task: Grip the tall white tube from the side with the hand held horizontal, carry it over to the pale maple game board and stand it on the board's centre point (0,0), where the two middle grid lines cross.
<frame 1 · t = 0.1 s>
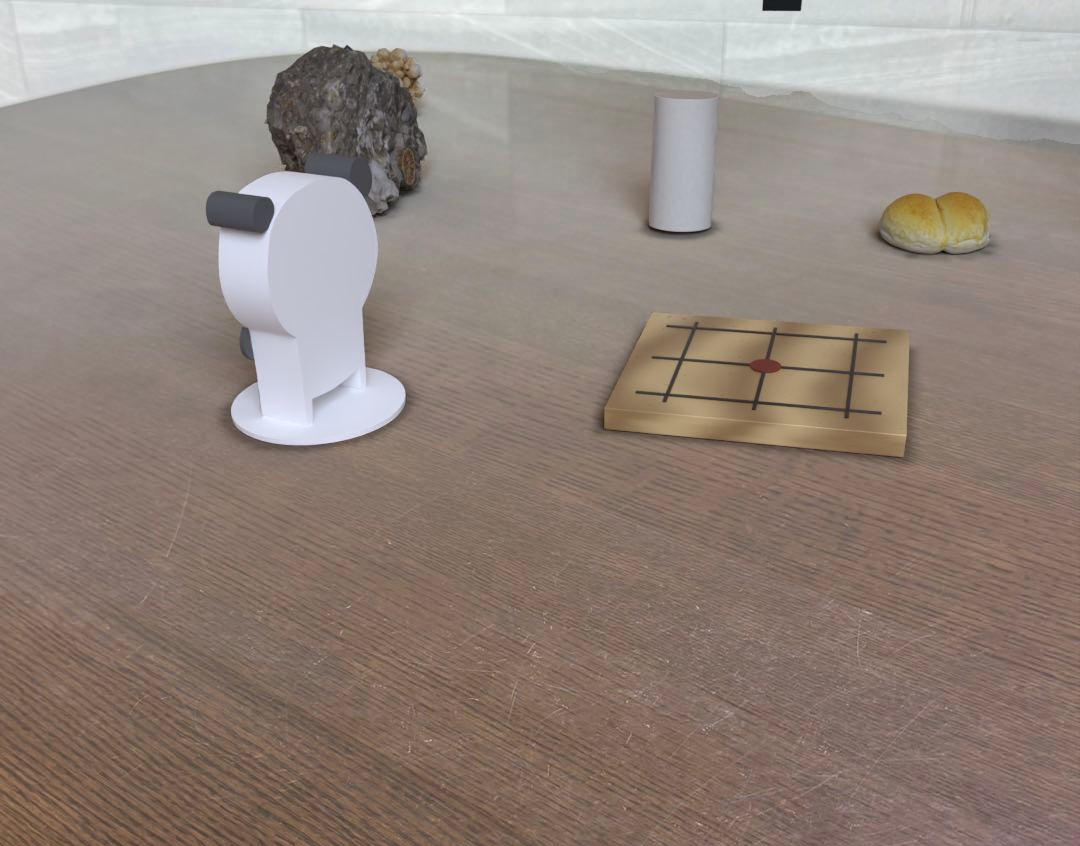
white tube: (679, 224, 108), on the table, tilted 5°
bread roll: (934, 243, 103), on the table
game board: (763, 387, 79), on the table
mineral formation: (358, 122, 146), on the table
white plastic upright piece: (322, 405, 79), on the table
rock: (351, 202, 118), on the table
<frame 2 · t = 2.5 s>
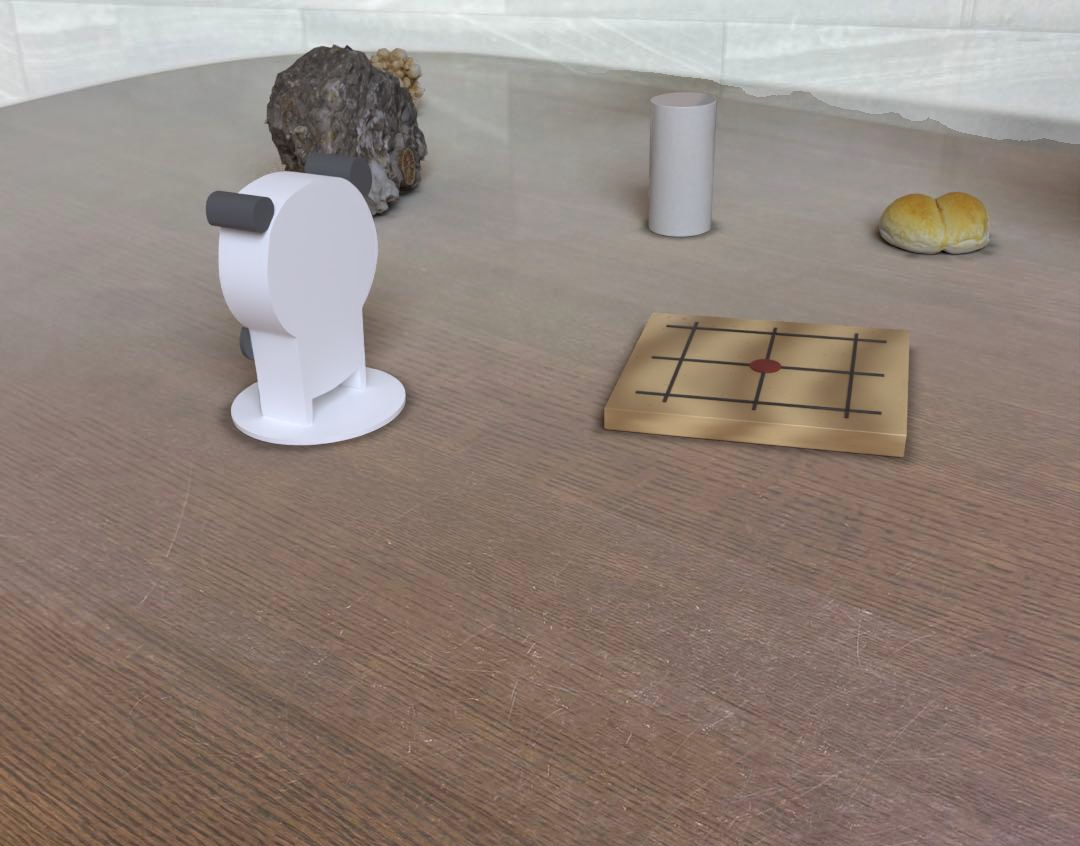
white tube: (679, 226, 108), on the table
everything else where it was.
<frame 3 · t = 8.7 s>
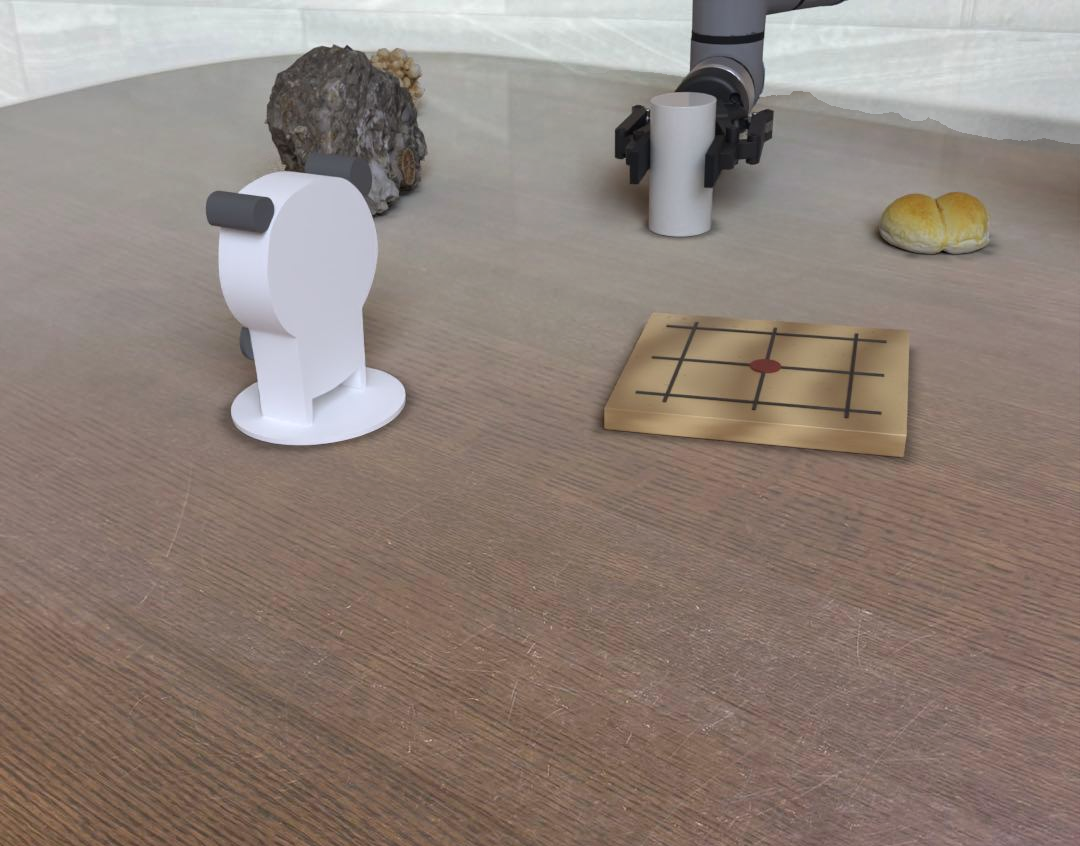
hand: (671, 169, 100), 7 cm above the table, tool horizontal, fingers closed on white tube, 6 cm apart
white tube: (679, 226, 108), on the table, touching gripper
everything else where it was.
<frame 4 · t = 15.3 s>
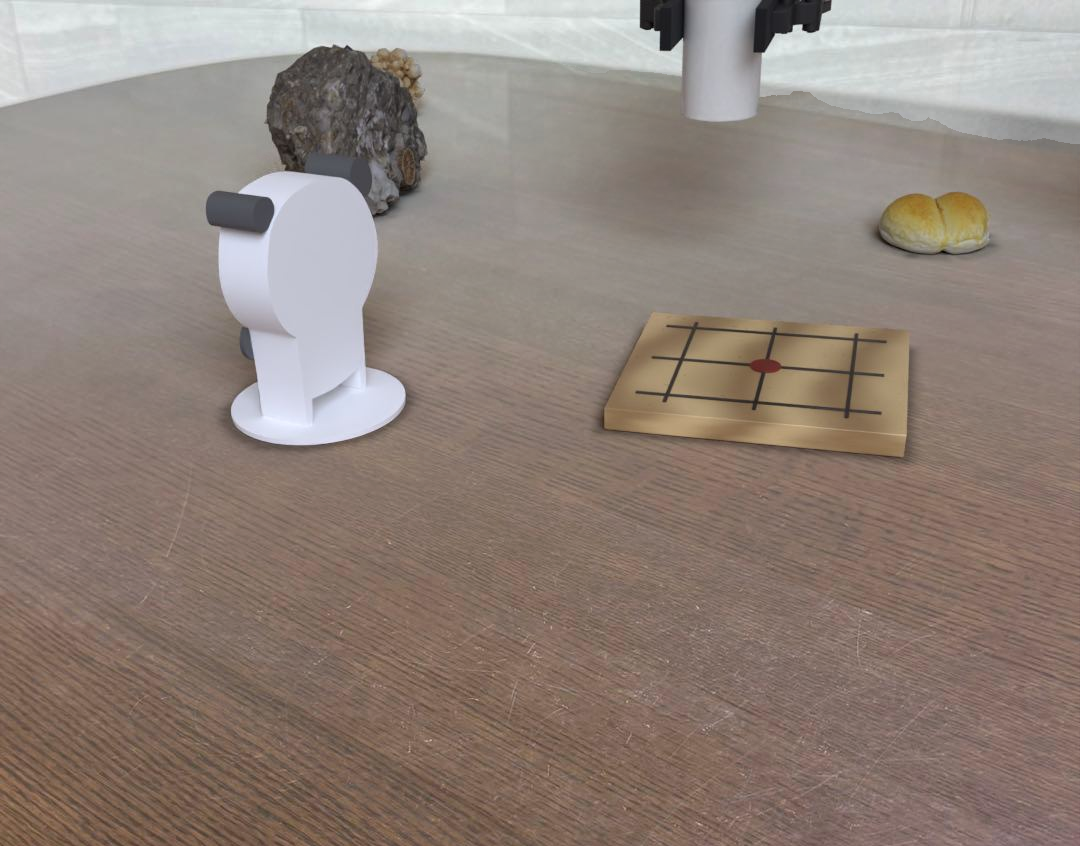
hand: (712, 30, 80), 20 cm above the table, tool horizontal, fingers closed on white tube, 6 cm apart
white tube: (719, 112, 88), point 13 cm above the table, touching gripper
everything else where it was.
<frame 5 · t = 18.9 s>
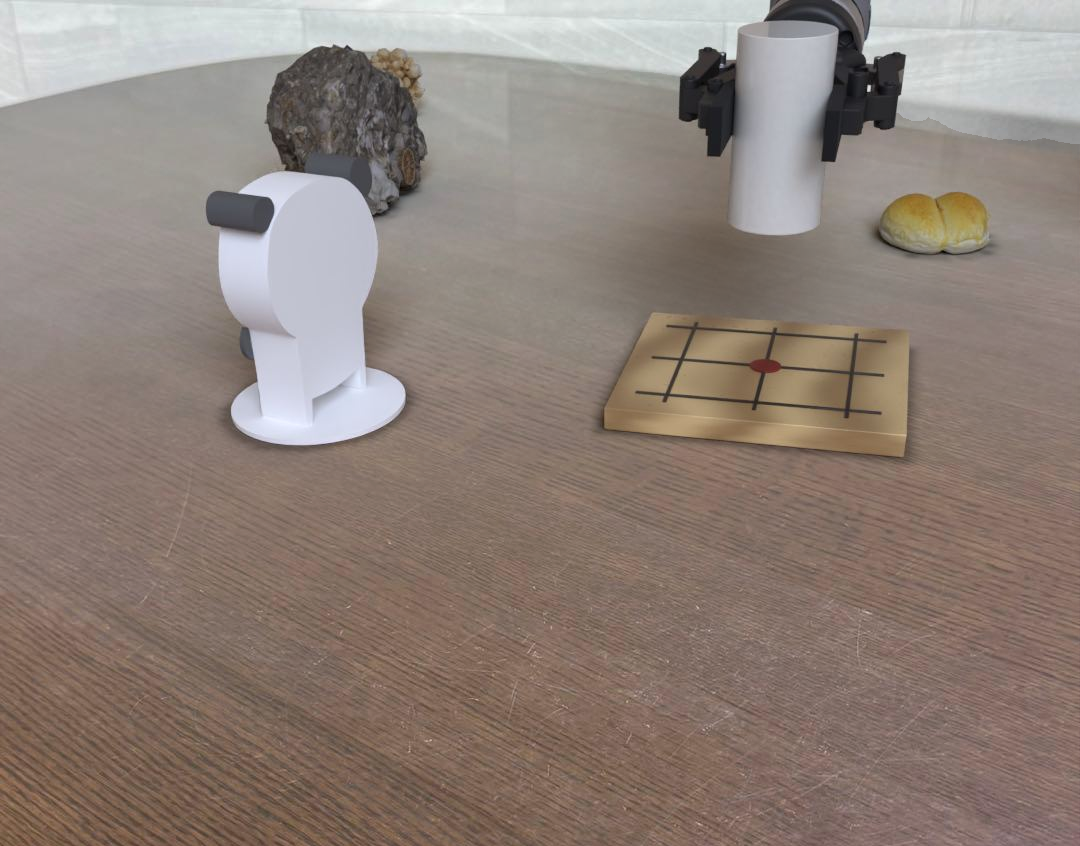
hand: (772, 134, 66), 17 cm above the table, tool horizontal, fingers closed on white tube, 6 cm apart
white tube: (773, 221, 74), point 11 cm above the table, touching gripper
everything else where it was.
when the fingers open (8 cm above the table, at t = 21.7 s): white tube stays where it is, resting on game board.
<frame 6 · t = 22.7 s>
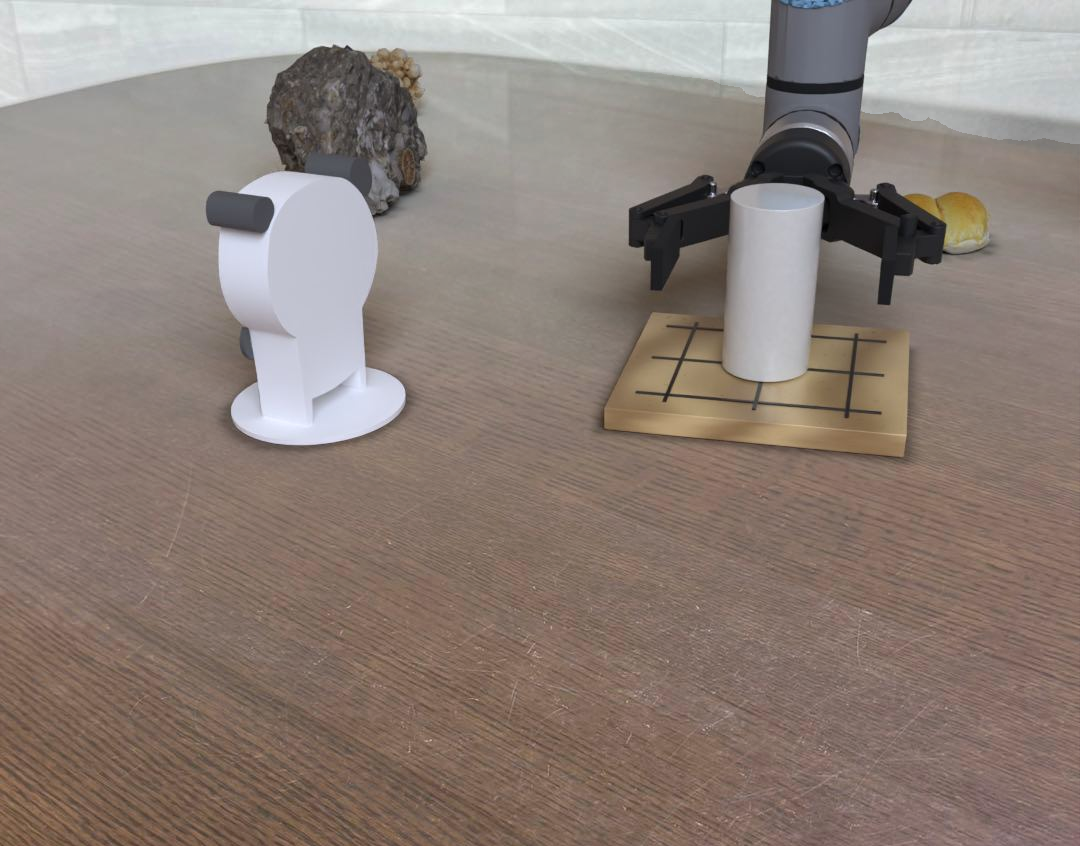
hand: (768, 276, 72), 9 cm above the table, tool horizontal, fingers open, 13 cm apart
white tube: (764, 364, 78), point 2 cm above the table, touching game board
everything else where it was.
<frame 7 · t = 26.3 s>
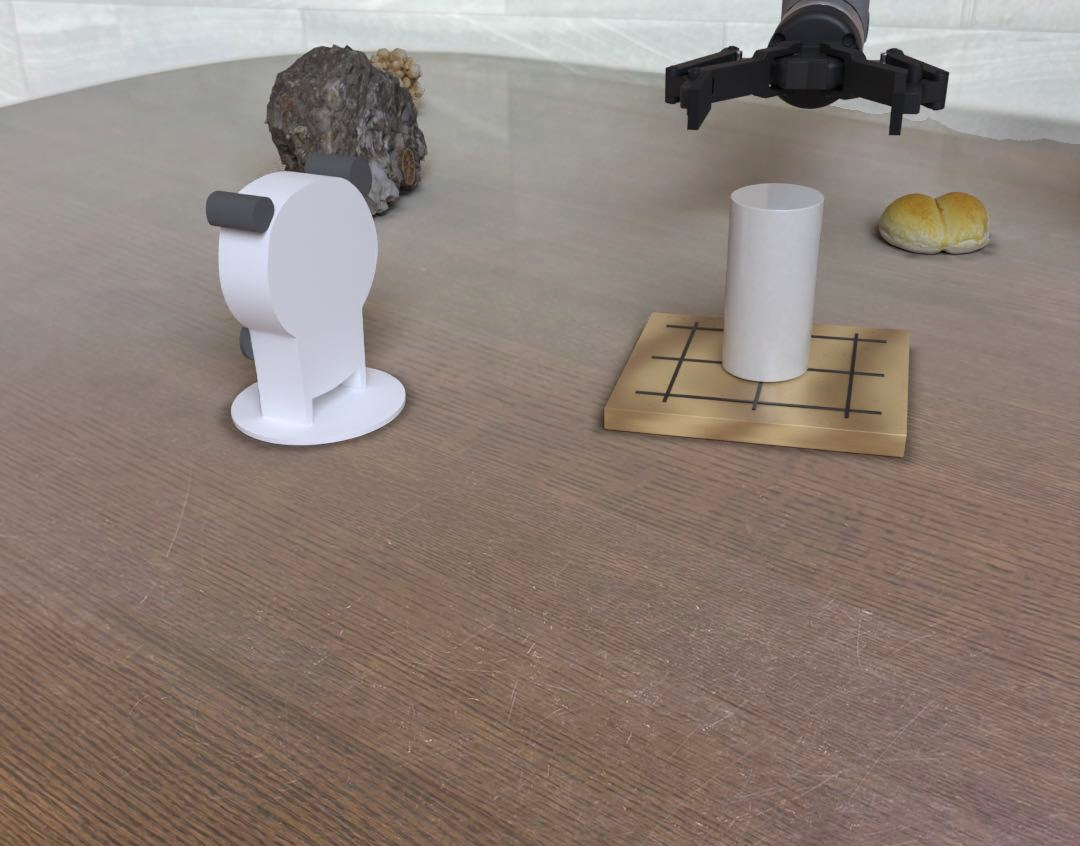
hand: (792, 112, 81), 15 cm above the table, tool horizontal, fingers open, 13 cm apart
nothing on the table moved.
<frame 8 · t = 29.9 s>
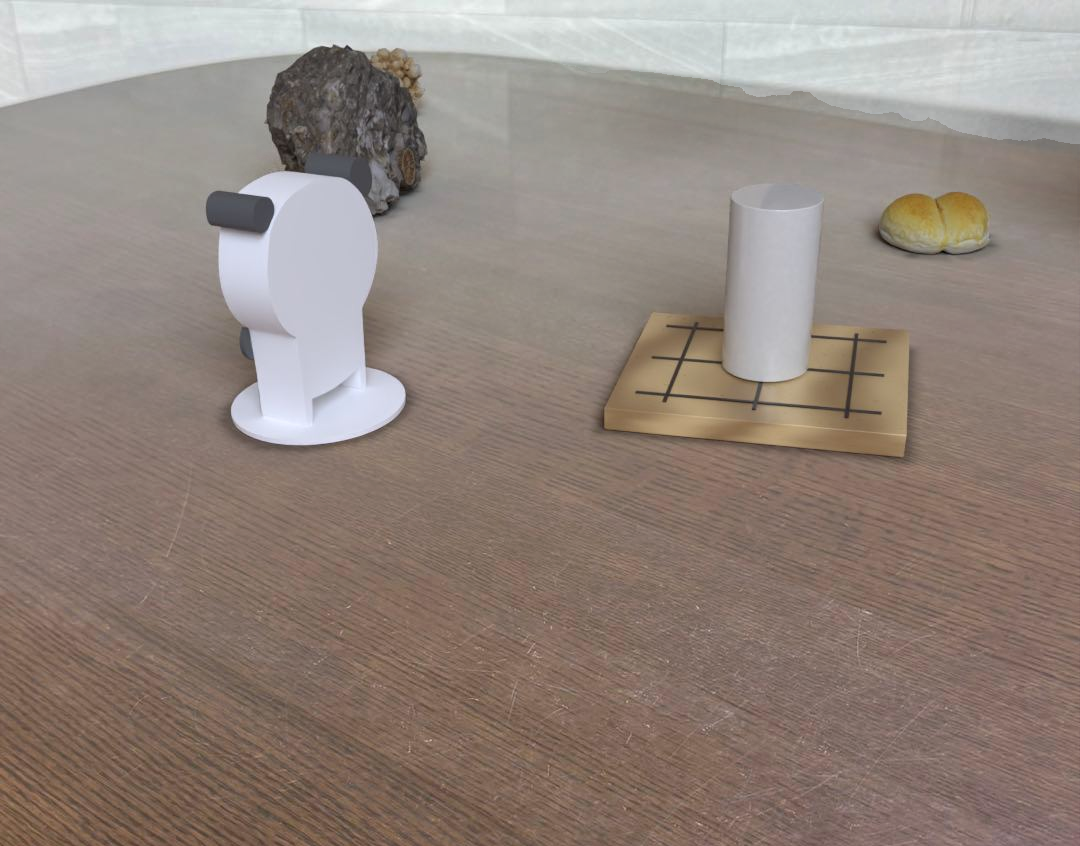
nothing on the table moved.
at the end: white tube 0.1 cm off-centre on the game board, point 1.6 cm above the game board's base; white tube tilted 0°; the gripper is holding nothing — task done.
